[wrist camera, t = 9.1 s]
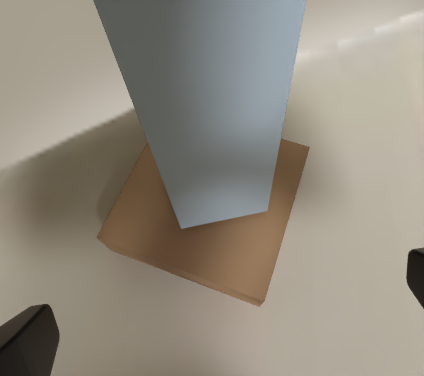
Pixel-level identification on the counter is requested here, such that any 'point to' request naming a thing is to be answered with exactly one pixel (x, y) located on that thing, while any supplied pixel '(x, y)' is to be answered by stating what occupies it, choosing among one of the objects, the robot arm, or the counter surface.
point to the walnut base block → (205, 230)
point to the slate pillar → (208, 94)
